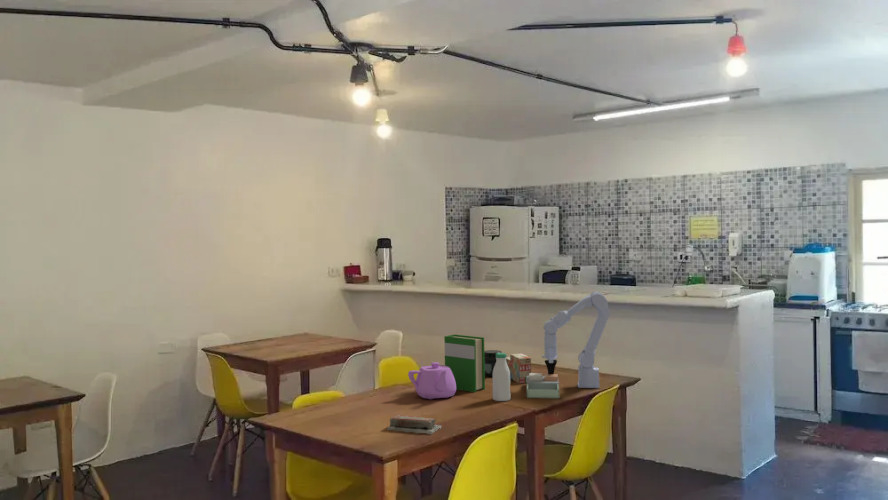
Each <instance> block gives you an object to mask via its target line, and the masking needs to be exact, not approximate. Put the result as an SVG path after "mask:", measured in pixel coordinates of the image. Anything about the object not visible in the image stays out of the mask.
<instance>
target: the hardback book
mask: <svg viewBox="0 0 888 500" xmlns="http://www.w3.org/2000/svg"><path fill="white" fill-rule="evenodd" d="M443 338H444V365H445V366H448V367H449V368H450V369H451V371H452V373H453V376H454V378H455V382H456V390H458V391H464V392H471V393H477V391H478V390H481V391H485V390H486V379H485V378H486V376H485V360H484V351H485V337H482V336H475V335H463V334H451V335H444V337H443Z"/></svg>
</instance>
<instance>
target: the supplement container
mask: <svg viewBox="0 0 888 500" xmlns="http://www.w3.org/2000/svg"><path fill="white" fill-rule="evenodd" d="M496 353H503V352H502V351H501V350H498V349H487V350H484V360H485V377H488V378H491V377H492V378H493V369H494V366H495V364H496Z"/></svg>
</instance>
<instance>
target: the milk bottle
mask: <svg viewBox="0 0 888 500" xmlns="http://www.w3.org/2000/svg"><path fill="white" fill-rule="evenodd" d="M506 357H507V353H505V352H502V353H496V364H495V366H494V369H493V377H492V399H493V401H496V402H508V401H510V400H511V398H512V397H511V395H512V393H511V390H512V389H511V379H510V370H509V368H508V365H507V363H506Z"/></svg>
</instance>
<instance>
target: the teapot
mask: <svg viewBox="0 0 888 500" xmlns="http://www.w3.org/2000/svg"><path fill="white" fill-rule="evenodd" d="M416 374H417V375H416ZM407 375H408V378H409V380H410V381H411V383H412V384H413V385H414V387H415V389H414V390H415V391H416V393H417V395H418V396H419V397H420V398H423V399H427V400H434V399H442V398H443V399H449V397H453V396H454V395H455V394H456V392H457V389H456V382H455V378H454V376H453V373H452V371H451V369H450V368H449V367H448V366H445V364H444V365H442V364H440V362H438V361H434V362H431V365H425V366H420V368H419V370H414V369H413V370H409V371H408V373H407ZM414 375H416V378H415V377H414Z"/></svg>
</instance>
